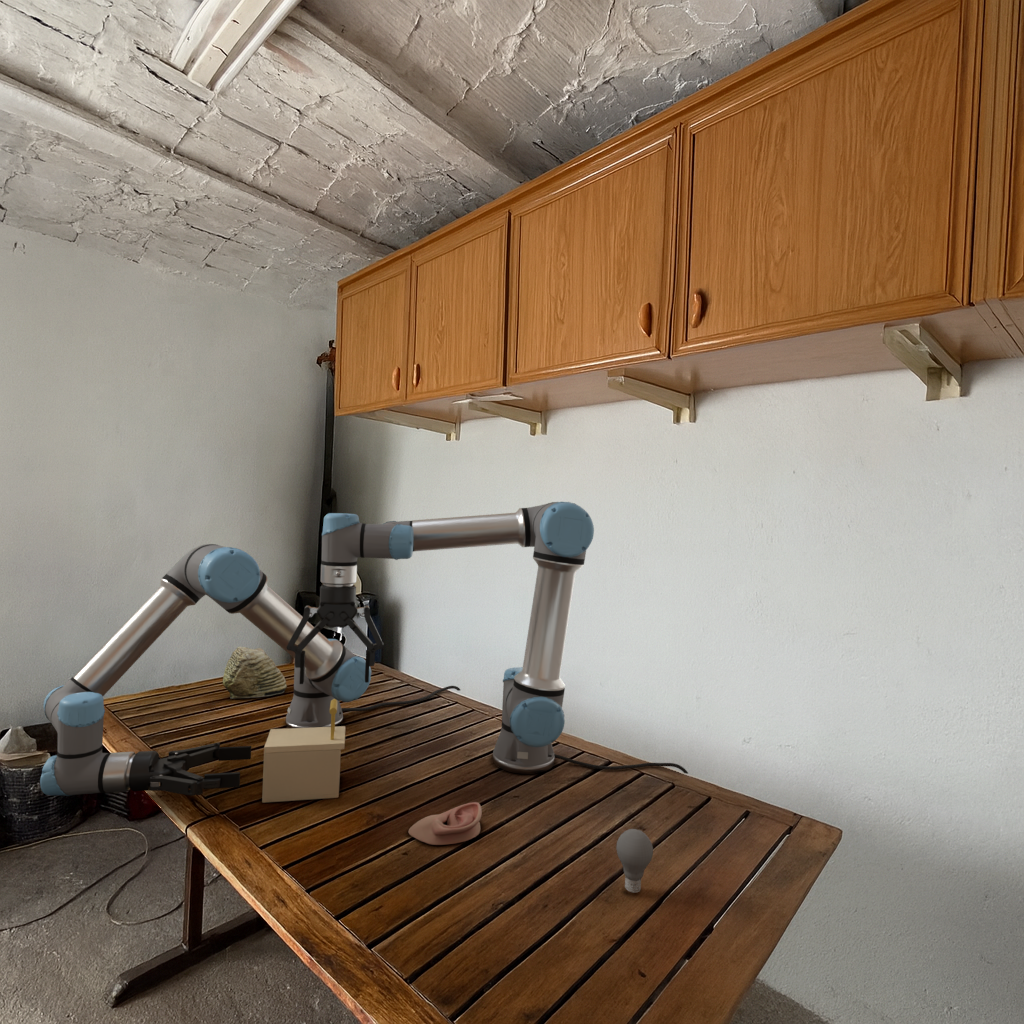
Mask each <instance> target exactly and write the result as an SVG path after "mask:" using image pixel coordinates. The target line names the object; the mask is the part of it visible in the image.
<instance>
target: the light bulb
mask: <svg viewBox="0 0 1024 1024" xmlns="http://www.w3.org/2000/svg"><path fill="white" fill-rule="evenodd" d="M615 849H616V854H617V857H618V859H619V861H620V863H621V865H622V867H623V873H624V874H623V875H624V876H625V878H624V888H625V890H627V891H628V892H630V893H634V894H635V893H639V892H640V891H641V889H642V887H641V886H642V879H643V877H644V875H645V871H646V868H647V867H648V866H649V864H650V863H651V861H652V859H653V855H654V847H653V843H652V841H651V838H649V836H648V835H647V834H646V833H645V832H643V831H642V830H641V829H636V828H629V829H627V830H625V831H623V832H622V833H621V834H620V835H619V837H618V839H617V841H616V847H615Z"/></svg>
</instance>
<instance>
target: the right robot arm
mask: <svg viewBox="0 0 1024 1024" xmlns="http://www.w3.org/2000/svg"><path fill="white" fill-rule="evenodd" d="M594 535H595V527H594V522H593V519H592V517H591V516H590V514H589V513H588V512H587V510H586V509H584V507H582V506H580V505H579V504H576V503H574V502H571V501H552V502H548V503H544V504H540V505H535V506H531V507H530V506H529V507H519V508H518V509H517V511H516V512H506V513H494V514H493V513H491V514H479V515H478V514H477V515H467V516H453V517H451V516H450V517H441V518H426V519H414V520H413V519H412V520H400V521H398V520H397V521H396V520H391V521H389V520H388V521H386V522H384V523H366V522H365V523H364V522H360V517H359V515H358V514H357V513H345V512H344V513H342V512H328V513H327V514H326V515H325V516H324V517H323V526H322V532H321V562H320V582H321V583H322V584H321V586H319V605H318V607H315V606H310V605H305V606H304V609H303V615H302V617H303V618H302V620H301V621H300V623H299V625H298V627H297V629H296V630H295V632H294V634H293V636H292V637H291V639H290V641H289V643H288V645H287V647H286V649H287V650H291V651H294V652H295V658H294V667H296V668H300V684H303V683H304V673H305V651H302V650H303V649H304V648H305V647H306V646H307V644H308V643H309V642H310V641H311V640H312V639H313V638H314V637H315V636H316V635H317V634H318V633H319V632H321V630H323V629H324V627H325V626H326V628H327V627H328V628H330V629H335V628H340V629H344V628H347V626H348V628H350V630H352V631H353V633H354V634H355V635H356V637H357V638H358V639H359V640H360V641H361V642H362V643H363V645H364V646H365V647H366V649H365V660H366V663H365V682H369V666H370V667H374V666H375V663H376V653H377V651H378V650H382V649H384V648H385V647H384V646H385V645H384V642H383V640H382V638H381V636H380V633H379V631H378V629H377V626H376V624H375V622H374V621H373V617H372V616H371V610H370V609H371V608H370V606H369V605H368V604H367V605H364V606H362V607H361V606H360V607H358V606H357V605H356V600H357V599H356V598H357V586H356V585H355V584H356V583H357V579H358V577H357V576H358V575H357V574H358V558H360V559H388V560H395V561H398V560H408V559H411V558H412V557H413V554H414V552H425V551H438V550H439V551H440V550H451V549H452V550H453V549H465V548H479V547H491V546H493V547H494V546H504V545H505V546H506V545H519V546H520V547H521V548H533V553H532V559H533V560H534V562H535V563H536V565H537V572H536V577H535V579H536V580H535V584H534V592H533V597H532V598H533V599H532V604H531V610H530V618H529V622H528V623H529V624H528V630H527V637H526V644H525V650H524V655H523V663H522V666H515V667H508V668H507V669H506V670H504V672H503V679H502V683H503V687H502V688H503V689H502V708H501V709H502V710H501V728H500V732H499V734H498V737H497V740H496V743H495V745H494V748H493V751H492V762H493V764H494V765H495V766H496V767H497V768H499V769H501V770H504V771H506V772H510V773H514V774H521V775H534V774H540V773H545V772H547V771H549V770H551V769H552V768H553V767H554V766H555V760H556V759H559V760H562V761H565V762H568V763H571V764H574V765H578V766H582V767H586V768H589V769H596V770H603V771H604V770H605V771H606V770H607V771H617V770H630V769H639V768H646V767H672V768H676V769H679V770H680V771H681V772H683V773H684V774H687V775H688V774H689V772H688V770H687V769H686V768H685V767H683V766H682V765H680V764H678V763H673V762H642V763H636V764H625V765H614V766H613V765H611V766H610V765H598V764H592V763H587V762H583V761H579V760H576V759H571V758H569V757H567V756H563V755H559V754H556V753H555V751H554V747H553V744H552V743H554V742H555V741H557V740H558V739H559V737H560V736H561V735H562V733H563V731H564V728H565V723H566V722H565V721H566V720H565V712H564V710H563V703H564V697H565V690H566V684H565V682H564V680H563V679H562V678H561V671H562V664H563V658H564V654H565V653H564V652H565V645H566V639H567V634H568V633H567V632H568V628H569V627H568V626H569V620H570V613H571V608H572V607H571V606H572V599H573V594H574V589H575V581H576V575H577V572H578V571H579V570H581V569H582V568H583V567H584V566H585V561H586V555H587V550H588V548H589V547H590V545H591V544H592V542H593V539H594ZM315 614H317V615H318V617H319V619H320V620H319V621H318V622H317V623H316V624H315V626H313V627H314V628H313V629H312V630H311V631H310V632H309V634H308V635H307V636H306V637H305V638H304V639H303V640H302V641H301V642H300V643H299V644H298V645H296V644H295V643H296V641H297V639H298V637H299V635H300V634H301V632H302V630H303V628H304V627H305V625H306V623H307V621H308V622H309V618H312V617H313V616H314V615H315ZM358 614H359V615H360V616H361V617H362V618H364V620H365V622H366V625H367V627H368V629H369V631H370V633H371V635H372V637H373V639H374V642H375V643H373V642H372V640H371V639H370V638H369V636H367V634H366V633H365V632H364V631H363V630H362V628H361V627H360V626H359V625H358V623H357V622H356V621H355V620H354V618H355V617H356V616H357V615H358Z"/></svg>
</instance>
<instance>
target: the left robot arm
mask: <svg viewBox="0 0 1024 1024" xmlns="http://www.w3.org/2000/svg"><path fill="white" fill-rule="evenodd" d="M205 596H207V597H208V598H210V599H211V600H213V602H215V603H216V604H217V605H218V606H220V607H221V608H222V609H223V610H225V611H226V612H227V613H228V614H231V615H234V614H241V616H242V617H244V618H246V620H248V621H249V622H250V623H251V624H252V625H254V626H255V627H256V629H257V628H258V630H260V631H261V632H262V633H263V634H265V636H267V637H268V638H270V640H272V641H273V642H274V643H276V645H278V646H279V647H280V648H281V649H283V650H284V651H285V652H286V653H287V654H288V655H290V656H291V657H292V658H294V659H295V652H294V651H291V650H287V649H286V647H287V645H288V643H289V641H290V639H291V637H292V636H293V634H294V632H295V630H296V629H297V627H298V625H299V623H300V621H301V620H302V618H303V615H301V613H299V612H298V611H297V610H296V609H295V608H293V607H292V606H291V605H290V604H289V603H288V602H287V601H285V600H284V599H283V598H282V597H281V596H280V595H279V594H277V592H275V591H274V589H272V588H271V587H270V586H268V576H267V574H265V572H263V570H261V569H260V567H259V564H258V562H257V561H256V559H255V558H254V557H253V556H252V555H251V554H249V553H248V552H246V551H244V550H243V549H240V548H236V547H231V546H223V545H219V544H216V543H206V544H201V545H198V546H196V547H194V548H193V549H191V550H189V551H187V553H185V554H184V556H182V557H181V558H180V559H179V560H178V561H177V562H176V563H175V564H174V565H173V566H172V567H171V568H170V569H169V570H168V571H167V572H166V573H165V574H164V575H163V576H162V578H160V585H159V587H158V588H157V589H156V590H155V591H154V592H153V593H152V595H151V596H149V597H148V599H147V600H146V601H145V602H144V603H143V604H141V606H140V607H139V608H138V609H137V610H136V611H135V612H134V613H132V615H131V616H130V617H129V618H128V619H127V620H126V621H125V622H124V623H123V624H122V625H121V626H120V627H119V629H117V631H115V632H114V634H113V635H111V637H110V638H109V639H108V640H107V641H106V642H105V643H104V644H103V645H102V646H101V647H100V648H99V649H98V650H97V651H96V652H95V653H94V654H93V655H92V656H91V657H90V658H89V659H88V660H87V662H85V664H83V666H82V667H81V668H80V669H79V670H78V671H77V672H76V673H74V675H73V676H72V677H71V678H70V679H69V680H68V681H66V682H65V684H62V685H58V686H57V687H55V688H53V689H52V690H51V691H49V692H48V693H47V694H46V696H45V698H44V700H43V704H42V705H43V706H42V707H43V712H44V716H45V717H46V719H47V720H48V722H49V723H51V725H52V727H53V728H54V729H55V731H56V733H57V751H56V754H55V755H52V756H50V757H48V759H47V760H46V761H45V763H44V764H43V767H42V768H41V776H40V778H39V786H40V789H41V791H42V793H43V794H45V796H65V797H72V796H77V795H78V796H80V795H93V794H106V793H107V794H108V793H114V794H115V795H118V794H120V793H124V792H129V791H132V792H145V791H146V792H147V791H151V792H157V791H158V792H160V791H162V792H167V793H171V794H172V793H173V794H179V795H185V796H189V797H193V796H200V795H203V793H204V790H214V789H215V790H217V789H230V788H233V789H234V788H240V786H241V772H240V771H236V772H235V771H233V772H219V773H204V775H203V776H202V775H200V774H196V773H193V772H191V771H189V770H190V769H191V768H194V767H196V766H200V765H203V764H207V763H210V762H212V761H215V760H218V761H219V762H225V761H245V760H251V758H252V745H241V746H239V745H237V746H221V743H220V742H214V743H211V744H205V745H199V746H195V747H190V748H186V749H180V750H171V751H170V750H169V751H168V757H163V758H161V757H160V754H159V752H158V751H157V750H144V751H137V753H136V752H135V751H118V752H103V747H104V746H103V745H104V744H103V739H104V718H105V713H106V709H105V705H104V704H105V702H104V700H105V699H104V696H105V695H106V694H107V693H108V692H109V691H110V690H111V689H112V688H113V687H114V686H115V685H116V683H118V681H119V680H120V679H122V677H123V676H124V675H125V674H126V673H127V672H128V671H129V670H130V669H131V667H132V666H133V665H134V664H135V663H136V662H137V661H138V660H139V659H140V658H141V657H142V656H143V655H144V654H145V653H146V651H148V650H149V648H150V647H151V646H152V645H153V644H154V643H155V642H156V641H157V640H158V638H160V636H162V634H163V633H164V632H165V631H166V630H167V629H168V628H169V627H170V626H171V624H172V623H174V621H176V619H177V618H178V617H179V616H180V615H181V614H182V613H183V612H184V611H185V610H186V609H187V608H188V607H190V606H191V607H192V606H195V605H196V604H198V602H199V601H200V600H201V599H202V598H204V597H205ZM314 627H315V626H313V625H312V624H311V622H309V620H308V621H307V623H306V625H305V627H304V628H303V630H302V632H301V634H300V635H299V637H298V639H297V641H296V643H295V644H296V645H298V644H299V643H300V642H301V641H302V640H303V639H304V638H305V637H306V636H307V635H308V634H309V632H310V631H311V630H312V629H313V628H314ZM302 651H305V673H304V683H303V684H300V668H296V667H295V666H294V672H293V695H292V696H293V697H292V699H291V702H290V704H289V706H288V708H287V710H286V711H287V713H286V715H285V726H286V728H287V729H289V728H314V727H331V714H330V703H331V700H333V699H336V700H337V701H338V705H337V713H336V714H335V727H338V726H340V725H342V723H343V722H344V714H343V712H366V711H371V710H374V709H377V708H380V707H385V706H400V705H410V704H414V703H420V702H423V701H426V700H428V699H431V698H432V697H433V696H435V695H436V694H439V693H443V692H445V691H448V690H450V689H452V690H456V691H458V692H460V691H461V688H460V687H458V686H456V685H448V686H445V687H443V688H439V689H436V690H434V691H432V692H431V693H430V694H428V695H426V696H422V697H420V698H416V699H411V700H402V701H386V702H381V703H376V704H374V705H370V706H367V707H342V706H341V702H343V703H350V702H353V701H357V700H358V699H359V698H361V697H362V696H363V695H364V694H365V693H366V691H367V689H368V688H369V686H370V683H371V680H372V668H371V666H369V682H365V663H366V659H365V658H364V657H361V656H359V655H358V656H357V655H356V654H354V653H353V652H352V651H351V650H350V649H348V648H347V646H345V645H344V644H343V643H342V642H341V641H340V640H338V639H336V638H327V637H326V636H325V635H324V634H322V633H321V631H319V633H318V634H317V635H316V636H315V637H314V638H313V639H312V640H311V641H310V642H309V643H308V644H307V646H306V647H305V648H304V649H303V650H302Z"/></svg>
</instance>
